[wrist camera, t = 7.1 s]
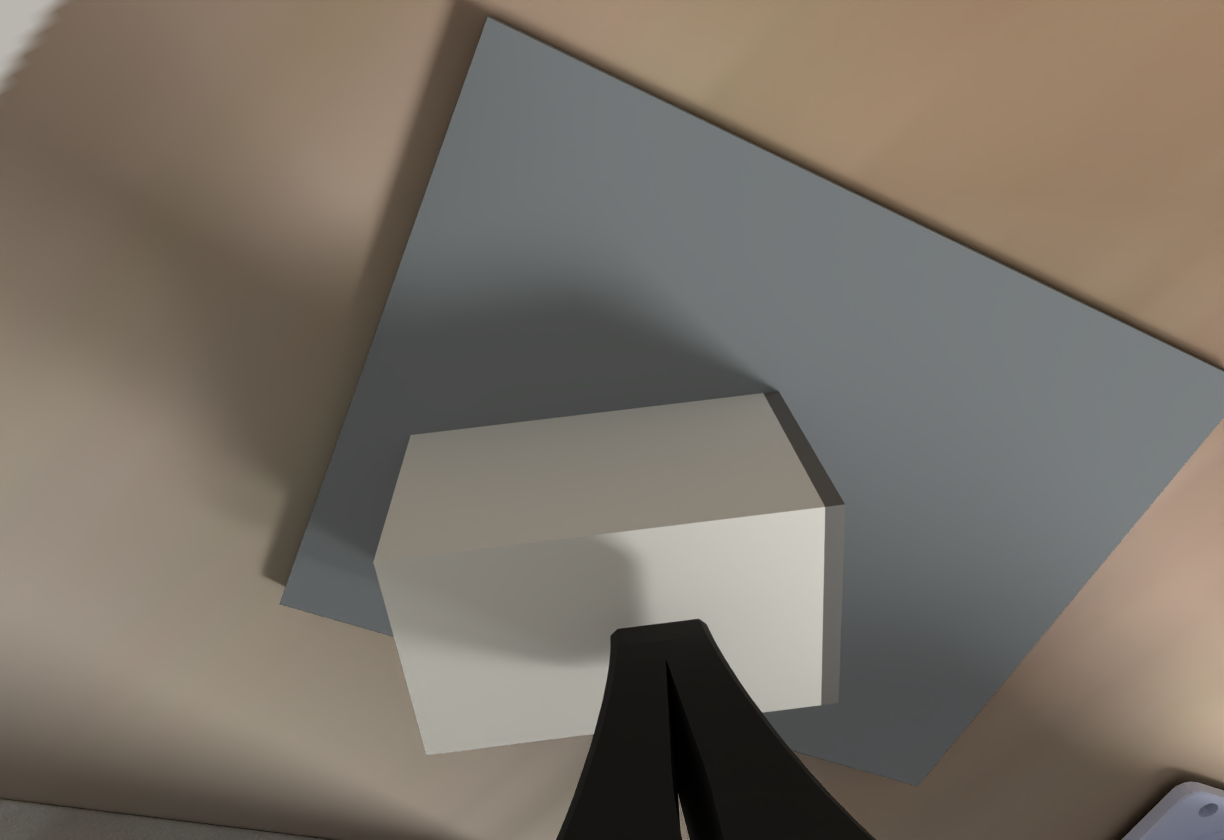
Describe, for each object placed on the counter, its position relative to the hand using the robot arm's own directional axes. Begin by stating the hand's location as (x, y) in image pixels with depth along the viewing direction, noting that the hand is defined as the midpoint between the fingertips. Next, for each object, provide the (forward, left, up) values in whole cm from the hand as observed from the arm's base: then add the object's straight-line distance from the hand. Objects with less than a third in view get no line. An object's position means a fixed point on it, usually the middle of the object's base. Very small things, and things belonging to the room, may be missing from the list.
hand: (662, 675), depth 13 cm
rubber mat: (-2, -1, -5) cm, 6 cm away
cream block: (-3, -2, -3) cm, 4 cm away
